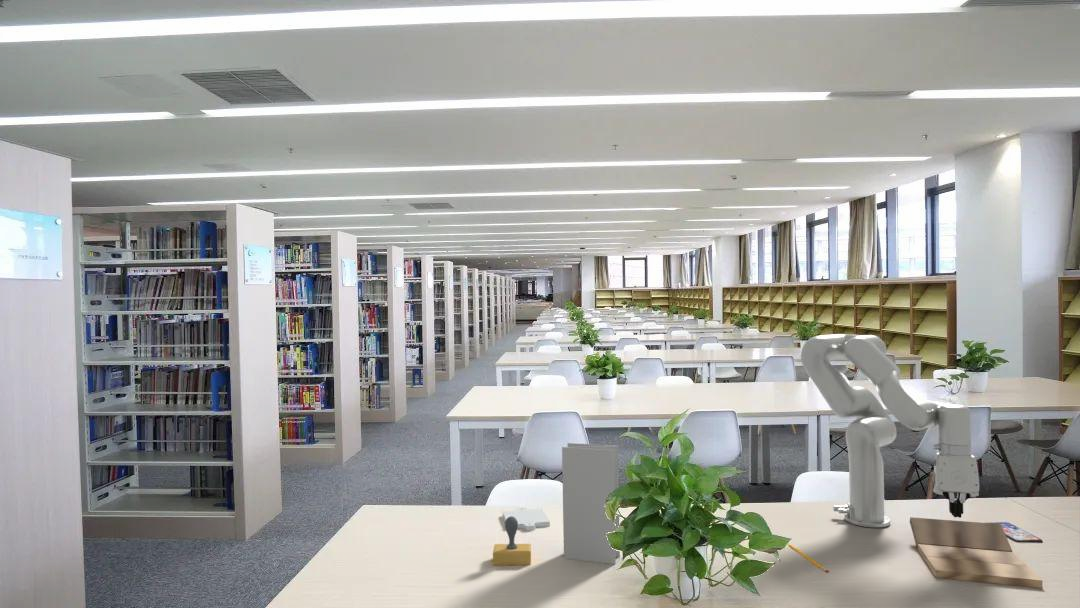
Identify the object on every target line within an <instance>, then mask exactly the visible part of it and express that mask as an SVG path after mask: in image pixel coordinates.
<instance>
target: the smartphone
mask: <svg viewBox="0 0 1080 608" xmlns="http://www.w3.org/2000/svg"><path fill="white" fill-rule="evenodd" d="M991 523H992V524H1001V525H1002V527H1003V530H1004V532H1005V535H1006V537H1007V539H1009V540H1011V541H1013V542H1015V543H1044V542H1043V539H1041V538H1039V537H1037V536H1036V535H1034V534H1031V533H1029V532H1028V531H1026V530H1023V529H1022V528H1020V527H1018V526H1016V525H1014V524H1012V523H1011V522H1006V521H1005V522H1003V521H1002V522H1001V521H1000V522H999V521H998V522H991Z"/></svg>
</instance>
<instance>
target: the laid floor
mask: <svg viewBox="0 0 1080 608" xmlns="http://www.w3.org/2000/svg"><path fill="white" fill-rule="evenodd" d="M917 551H918V553H919V555H920V556H921V558H922V559H923V560H924V562H925V563H926V565H927V567H928V568H929V569H930V572H931V573H932V574H933V576H934V577H935V578H937V579H938V578H939V579H946V580H947V579H948V580H949V579H950V580H958V581H966V582H967V581H968V582H979V583H989V584H999V585H1009V586H1018V587H1028V588H1038V589H1043V579H1042V578H1040V577H1039V576H1038V575H1037V573H1035V572H1034V570H1032V569H1031V568H1030V567H1029V566H1028V565H1027V564H1026V563H1025V562H1024V561H1023V560H1021V558H1020V557H1018V556H1017V555H1016V554H1015V553H1014V552H1013V551H1012V552H1004V551H992V550H981V549H969V548H958V547H946V546H935V545H923V544H918V548H917Z"/></svg>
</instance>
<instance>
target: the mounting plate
mask: <svg viewBox="0 0 1080 608" xmlns="http://www.w3.org/2000/svg"><path fill="white" fill-rule="evenodd" d="M511 516H512V517H515V518H516V520H517V522H518V528H517V530H520V529H521V530H525V531H526V532H533V531H535V530H536V528H546V527H550V526H551V521H550V519H549V518H548V516H547V514H546V513H545V511H544V510H543V508H532V509H531V508H530V509H528V508H526V507H516V510H505V511H502V518H503V521H504V522H505V521H506V519H507V518H508V517H511Z"/></svg>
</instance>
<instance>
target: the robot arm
mask: <svg viewBox="0 0 1080 608" xmlns="http://www.w3.org/2000/svg"><path fill="white" fill-rule="evenodd" d="M886 353H887V346H886V343H885V342H884V340H883V339H881V338H880V337H879V336H877V335H873V334H846V333H845V334H844V333H833V334H821V335H816V336H813V337H810V338H809V339H808V340H807V341H805V343H804V344H803V346H802V349H801V353H800V361H801V364H802V368H803V369H804V371H805V372H806V374H807V375H808V377H809V378H810V379H811V381H812V382H813V384H814V385H815V386H816V389H818V391H819V393H820V394H821V396H822V397H823V399H824V400H825V401H826V404H827V405H828V406H829V408H830V409H831V412H833V413H834V414H835V415H836V416H837V417H838V418H840V419H853V418H856V420H853V421H852V422H850V423H849V424H848V425H847V427H846V428H845V429H846V430H845V441H846V442H845V443H846V447H847V452H848V453H847V454H848V471H849V476H848V477H849V479H848V480H849V483H848V484H849V502H847V504H844V505H838V504H837V505H836V504H833V512H838V514H844V515H843V516H844V519H845V521H847V522H848V523H850V524H853V525H856V526H860V527H865V528H878V529H879V528H885V527H888V526H890V525H891V519H890V518H889V517H888V516H887V515H885V482H884V481H885V476H884V460H883V456H882V453H881V450H880V449H881V447H885V446H888V445H890V444H892V443H893V442H894V441H895V440H896V439H897V434H898V431H897V426H896V424H895V423H894V421H893V419H892V417H891V416H890V415H889V413H891V415H892V416H893V417H894V418H895V419H896V420H897V421H898V422H899V423H901V424H902V425H903V426H905V428H908V429H910V430H912V431H913V430H914V431H921V430H924V429H928V428H934V427H938V441H937V444H932V449H933V450H936V451H938V452H936V455H935V460H934V465H933V485H934V487H933V491H932V492H933V493H935V494H936V495H940V496H944V497H945V498H946V499H947V500H948V504H949V505H948V510H949V511H948V512H949V513H950V514H951V516H953V518H959V519H960V518H962V515H964V503H966V501H967V500H968V499H970V498H974V497H979V496H980V494H979V491H980V478H979V472H978V471H979V470H978V464H977V460H976V456H975V455H973V454H972V432H971V431H972V430H971V429H972V427H971V426H972V425H971V423H972V422H971V410H970V408H969V407H968V406H966V405H965V404H964V405H963V404H958V403H955V404H954V403H944V402H940V401H935V400H930V399H929V400H922V401H921V400H920V401H915V400H914V398H912V397H911V396H910V395H909V394H908V393H907V392H906V391H905V389H904V388H903V387H902V385H901V384H900V378H899V377H900V374H901V369H900V367H899V366H898V365H897V364H896V363H894V362H893V361H892V360H891V359H890V358H889V357H888V356H887V355H886ZM842 360H843V361H844V360H845V361H850V362H851V363H852V364H853V365H854V366H855V368H856V369H858V370H859V371H860V372H861V373H862V374H863V375H864V377H866V378H867V379H868V380H869V382H871V383H872V384H873V386H874V387H875V388H876V391H877V393H878V396H879V398H880V400H881V402H882V404H883V405H884V407H885V408H886V409H887V411H889V413H888V412H887V411H886V410H885V408H884V407H883V405H882V404H881V402H880V401H879V400H878V398H877V396H876V395H875V394H874V393H873V392H872V391H870V390H869V389H867V388H866V387H864V386H859V385H857V386H856V385H855V386H851V385H850V384H849V383H848V381H846V379H845V377H844V376H843V375H842V374H841V372H840V371H839V370H838V369H837V368H836V367H835V366H833V365H832V364H831V362H830V361H842ZM955 493H957V496H956V498H955Z"/></svg>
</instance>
